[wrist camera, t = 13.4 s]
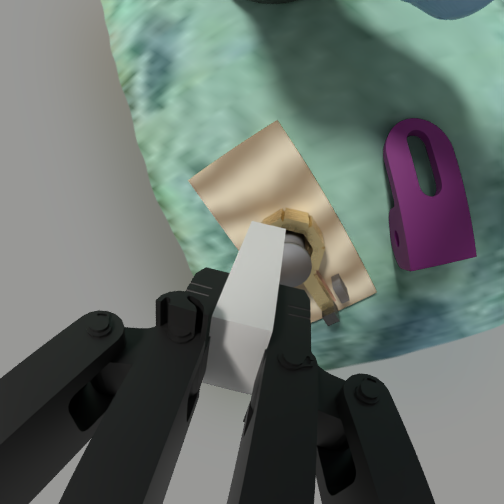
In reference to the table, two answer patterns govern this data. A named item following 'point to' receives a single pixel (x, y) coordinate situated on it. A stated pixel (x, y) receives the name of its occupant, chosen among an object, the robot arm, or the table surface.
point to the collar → (312, 232)
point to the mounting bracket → (426, 201)
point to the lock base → (284, 196)
